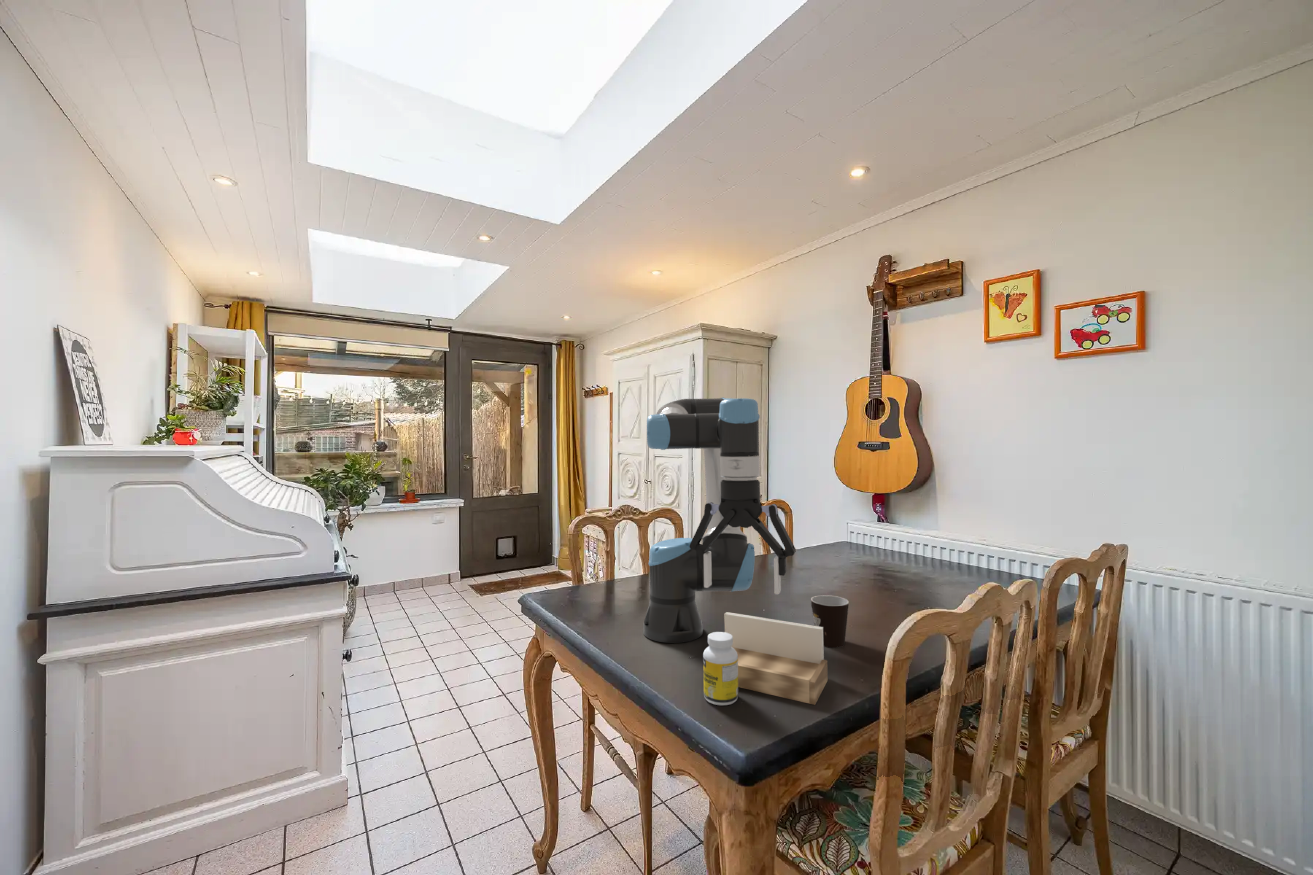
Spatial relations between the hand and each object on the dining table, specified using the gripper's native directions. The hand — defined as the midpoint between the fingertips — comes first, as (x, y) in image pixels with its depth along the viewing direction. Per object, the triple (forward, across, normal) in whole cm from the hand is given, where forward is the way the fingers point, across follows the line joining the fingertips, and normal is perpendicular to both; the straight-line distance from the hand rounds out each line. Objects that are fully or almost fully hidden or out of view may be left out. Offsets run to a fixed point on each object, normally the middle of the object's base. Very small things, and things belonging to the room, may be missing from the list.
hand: (741, 589), depth 99 cm
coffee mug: (+20, +13, +34) cm, 41 cm away
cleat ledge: (+20, +2, +7) cm, 21 cm away
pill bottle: (+20, -4, -4) cm, 21 cm away
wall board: (+20, +3, +13) cm, 24 cm away
